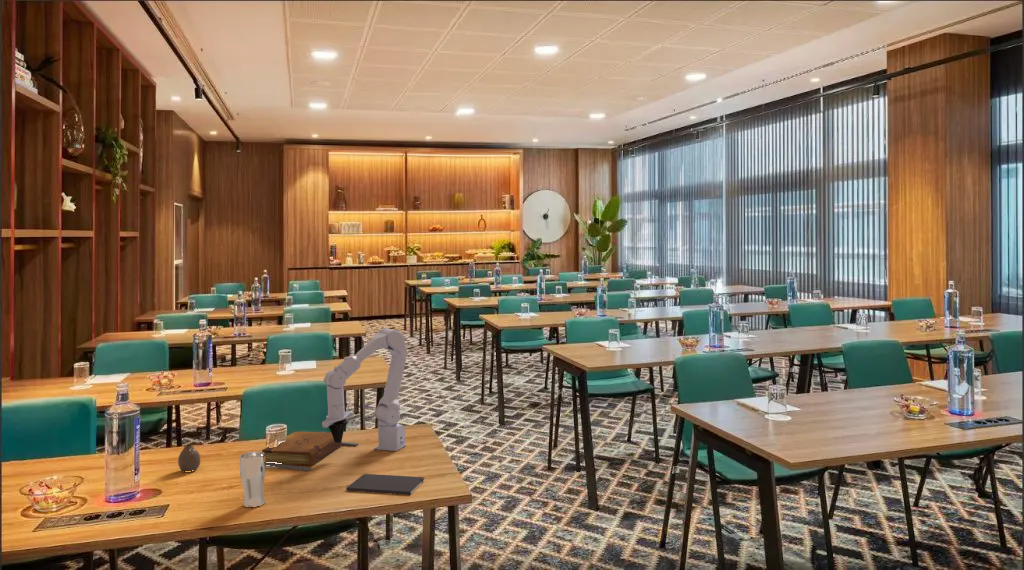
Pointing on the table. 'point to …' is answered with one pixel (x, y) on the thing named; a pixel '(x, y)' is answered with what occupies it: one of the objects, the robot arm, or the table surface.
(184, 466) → the grey teardrop shape
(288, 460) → the diary
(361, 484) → the notebook
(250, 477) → the beer glass
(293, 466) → the flat grey piece
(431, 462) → the table surface
